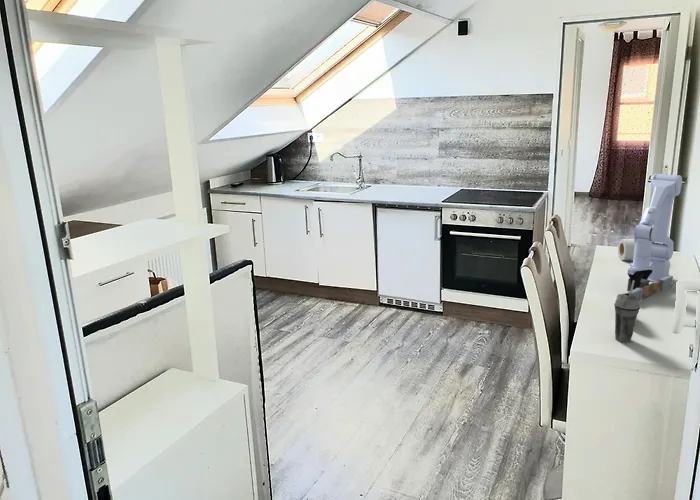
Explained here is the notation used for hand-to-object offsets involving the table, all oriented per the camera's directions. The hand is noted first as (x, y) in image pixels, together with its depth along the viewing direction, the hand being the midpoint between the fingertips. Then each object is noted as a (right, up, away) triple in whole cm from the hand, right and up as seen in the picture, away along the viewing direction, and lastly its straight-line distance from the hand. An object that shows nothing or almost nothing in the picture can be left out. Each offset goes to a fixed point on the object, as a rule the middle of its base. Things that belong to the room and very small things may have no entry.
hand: (637, 288), depth 216 cm
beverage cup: (-25, -14, -39) cm, 48 cm away
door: (+3, -2, -2) cm, 5 cm away
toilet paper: (+19, +10, +41) cm, 46 cm away
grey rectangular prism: (0, -1, 0) cm, 1 cm away
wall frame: (+3, -3, -3) cm, 5 cm away
